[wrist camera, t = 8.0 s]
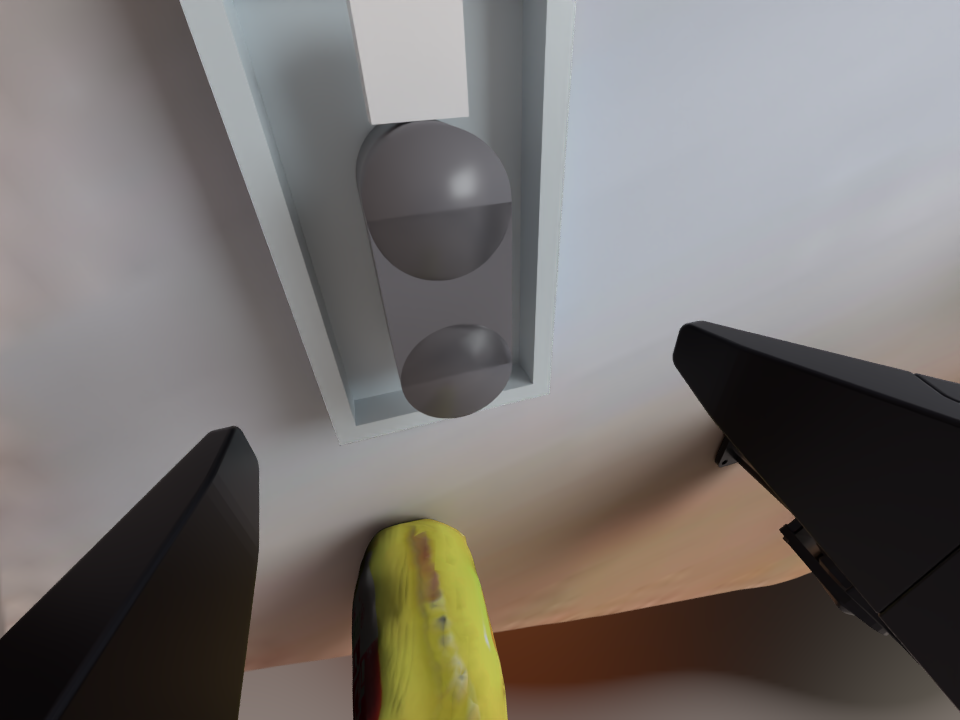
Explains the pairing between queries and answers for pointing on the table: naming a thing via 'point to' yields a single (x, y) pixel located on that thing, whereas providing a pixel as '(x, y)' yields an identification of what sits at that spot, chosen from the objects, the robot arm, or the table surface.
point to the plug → (433, 208)
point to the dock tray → (333, 188)
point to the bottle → (423, 630)
